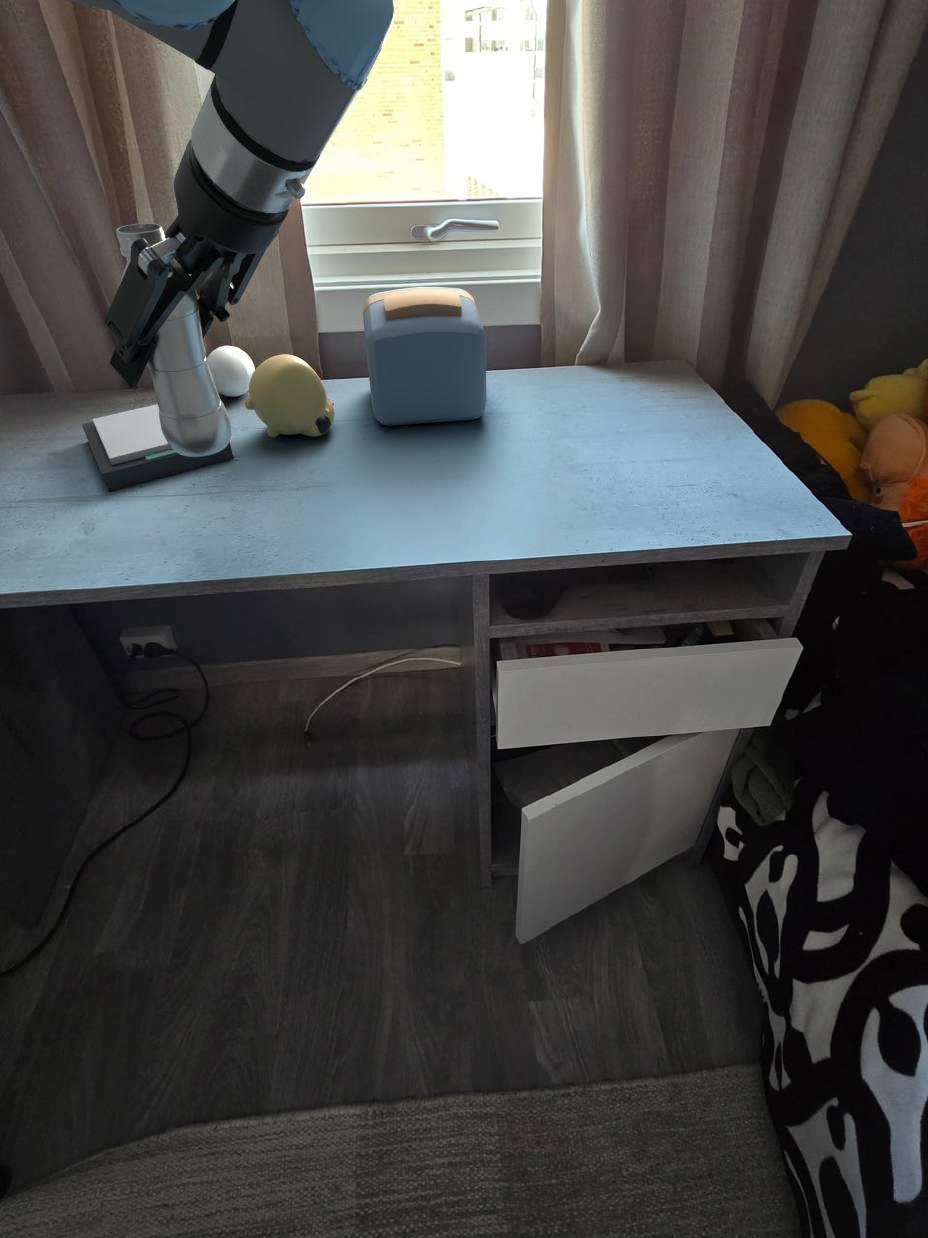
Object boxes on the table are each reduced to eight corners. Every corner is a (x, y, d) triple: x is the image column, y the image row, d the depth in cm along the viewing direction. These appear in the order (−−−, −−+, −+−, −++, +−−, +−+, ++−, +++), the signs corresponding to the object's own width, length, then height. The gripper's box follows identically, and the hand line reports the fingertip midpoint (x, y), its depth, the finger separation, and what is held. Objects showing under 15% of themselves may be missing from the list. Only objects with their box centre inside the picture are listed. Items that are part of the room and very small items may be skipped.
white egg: (256, 403, 105) (245, 355, 100) (207, 405, 105) (193, 357, 100) (267, 377, 112) (257, 331, 107) (221, 378, 112) (209, 332, 107)
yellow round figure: (298, 469, 97) (348, 421, 92) (225, 412, 91) (274, 357, 86) (307, 434, 104) (354, 388, 99) (240, 379, 98) (286, 327, 93)
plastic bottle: (202, 471, 67) (133, 241, 53) (155, 454, 69) (79, 231, 56) (250, 444, 71) (197, 224, 57) (204, 429, 73) (143, 216, 60)
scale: (108, 491, 86) (98, 466, 84) (88, 440, 97) (78, 417, 94) (234, 458, 92) (227, 433, 90) (202, 413, 103) (195, 390, 100)
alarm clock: (472, 377, 111) (471, 270, 100) (488, 422, 99) (489, 306, 88) (370, 384, 109) (359, 277, 99) (374, 431, 97) (362, 314, 87)
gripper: (179, 249, 43) (98, 433, 60) (356, 194, 56) (248, 359, 73) (91, 143, 42) (33, 362, 59) (294, 110, 54) (198, 299, 71)
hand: (152, 360), depth 66 cm, fingers closed on plastic bottle, 6 cm apart
